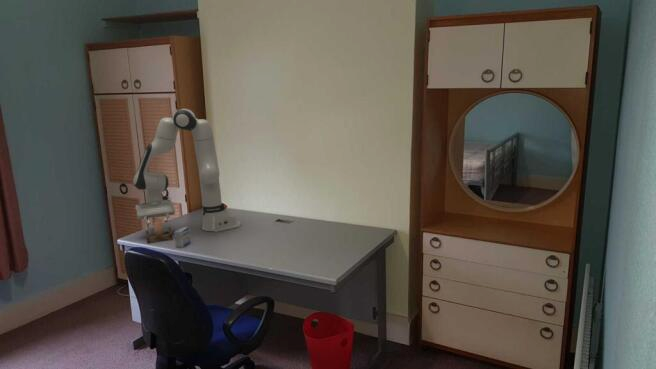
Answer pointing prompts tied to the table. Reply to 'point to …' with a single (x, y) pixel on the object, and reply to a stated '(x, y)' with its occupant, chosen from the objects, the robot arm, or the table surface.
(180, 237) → the medicine box
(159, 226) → the terracotta canister
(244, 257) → the table surface
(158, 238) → the frame
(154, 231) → the pad
